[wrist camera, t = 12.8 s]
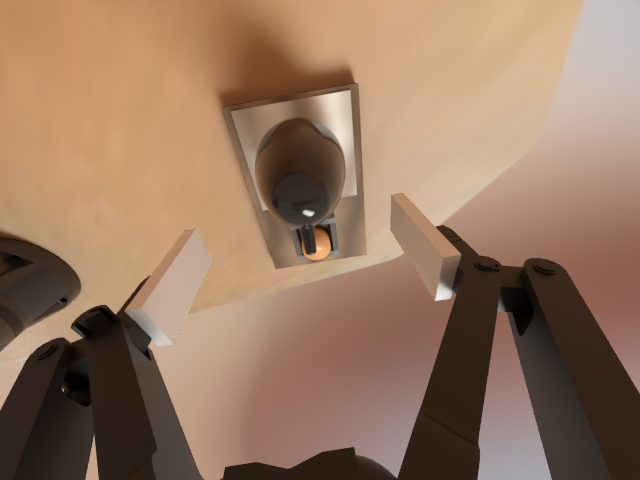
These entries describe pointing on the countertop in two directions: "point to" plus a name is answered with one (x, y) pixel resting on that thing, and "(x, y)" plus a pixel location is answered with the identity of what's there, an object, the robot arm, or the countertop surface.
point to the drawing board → (344, 121)
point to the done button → (320, 244)
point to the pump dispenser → (300, 174)
